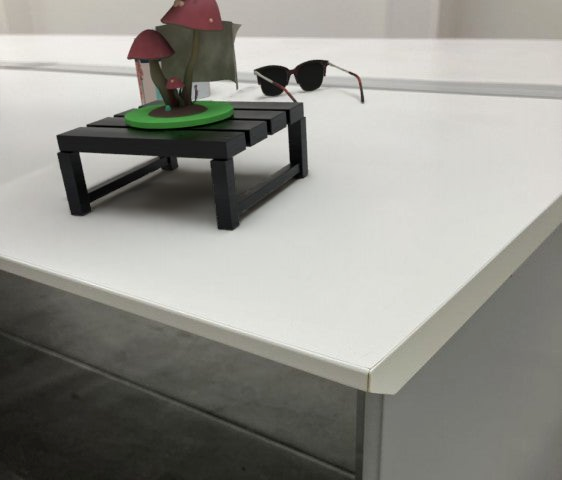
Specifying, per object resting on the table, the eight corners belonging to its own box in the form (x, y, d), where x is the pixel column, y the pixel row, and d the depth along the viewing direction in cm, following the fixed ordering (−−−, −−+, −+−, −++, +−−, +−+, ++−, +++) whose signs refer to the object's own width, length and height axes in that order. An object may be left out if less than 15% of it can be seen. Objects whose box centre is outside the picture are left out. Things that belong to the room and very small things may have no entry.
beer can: (155, 124, 103) (141, 35, 97) (183, 124, 101) (171, 34, 95) (139, 131, 99) (124, 40, 93) (168, 131, 98) (155, 38, 91)
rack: (70, 215, 67) (52, 136, 63) (167, 166, 81) (157, 99, 77) (232, 230, 60) (223, 143, 56) (308, 174, 74) (305, 101, 70)
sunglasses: (327, 88, 120) (327, 57, 117) (372, 108, 108) (373, 74, 105) (254, 98, 116) (252, 67, 113) (292, 120, 104) (291, 85, 101)
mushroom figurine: (203, 134, 59) (179, -70, 52) (95, 127, 65) (58, -58, 57) (271, 108, 68) (259, -71, 60) (170, 103, 74) (147, -61, 66)
